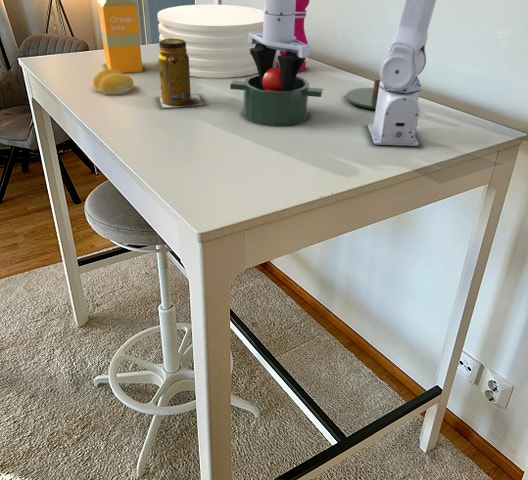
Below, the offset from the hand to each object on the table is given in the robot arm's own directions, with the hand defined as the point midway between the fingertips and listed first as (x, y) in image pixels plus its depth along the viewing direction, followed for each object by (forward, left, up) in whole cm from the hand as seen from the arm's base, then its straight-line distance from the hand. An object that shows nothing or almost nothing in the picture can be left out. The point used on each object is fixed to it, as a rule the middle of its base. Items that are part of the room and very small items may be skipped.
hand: (276, 89), depth 107 cm
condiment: (+6, +20, -5) cm, 22 cm away
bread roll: (+13, +36, -5) cm, 39 cm away
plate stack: (+39, +16, -5) cm, 43 cm away
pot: (0, 0, -5) cm, 5 cm away
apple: (0, 0, -1) cm, 1 cm away
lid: (+11, -22, -4) cm, 25 cm away
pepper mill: (+36, -4, -5) cm, 37 cm away
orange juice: (+31, +38, -5) cm, 49 cm away
